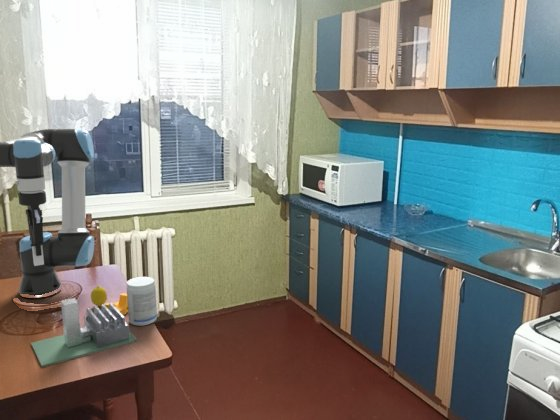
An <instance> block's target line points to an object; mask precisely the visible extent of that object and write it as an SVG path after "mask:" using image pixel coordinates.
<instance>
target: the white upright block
mask: <svg viewBox="0 0 560 420" xmlns="http://www.w3.org/2000/svg"><path fill="white" fill-rule="evenodd" d="M60 304H61V305H60V306H61V315H62V317H61V318H62V328H63V335H64V341H65V344H66V345H67V347H72V346H76V345H79V344H81V343H84V342H88V341H91V337H90V335H89V336H85V337H82V336H81V333H80V327H81V325H80V324H81V323H80V311H79V310H80V309H79V308H80V307H79V302H78V300H77V298H75V297H72V298H68V299H67V298H66V299H63V300H60Z"/></svg>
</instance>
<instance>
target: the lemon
mask: <svg viewBox="0 0 560 420" xmlns="http://www.w3.org/2000/svg"><path fill="white" fill-rule="evenodd" d="M107 297H108V294H107V291H106V289H105V288H104V287H102V286H100V285H98V286H96V287H94V288H93V289H92V290H91V293H90V299H91V303H92V304H93V305H94V306H97V307H98V308H99V307H102V306H101V304H104V305H105V304H106V302H107V299H108V298H107Z"/></svg>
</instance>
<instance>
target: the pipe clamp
mask: <svg viewBox="0 0 560 420" xmlns="http://www.w3.org/2000/svg"><path fill="white" fill-rule="evenodd" d="M111 303H112V304H113V305H114V306H115V307H116V308H117V309H118V311H119V312H120V313H121V314H122V315H123V316H125V315H126V314H127V313H128V301H127V292H125V293H124V292H122V293H120V294H119V300H118V301H116V302H111ZM104 305H105V306H106V307H107V308H108V309H109V302H107V303H106V302H105V303H104Z"/></svg>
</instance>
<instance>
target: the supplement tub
mask: <svg viewBox="0 0 560 420" xmlns="http://www.w3.org/2000/svg"><path fill="white" fill-rule="evenodd" d="M156 293H157V292H156V282H155V279H154V278H153V277H150V276H138V277H137V276H136V277H133V278H130V279H129V280H127V281H126V294H127V301H128V312H127V313H128V315H127V316H128V322H129V323H130V324H131V325H134V326H147V325H150V324H152V323H154V322H156V320H157V318H158V314H157V313H158V311H157V309H158V308H157V296H156V295H157V294H156Z"/></svg>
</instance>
